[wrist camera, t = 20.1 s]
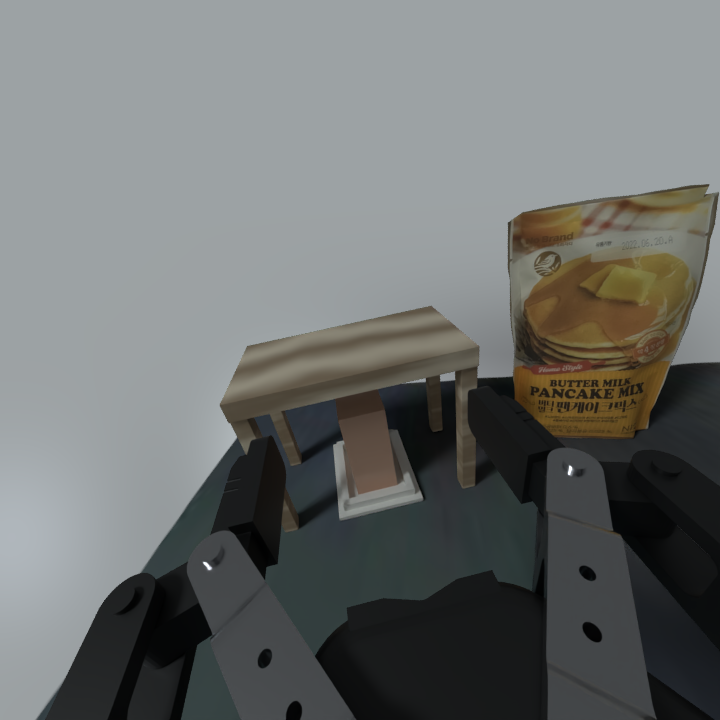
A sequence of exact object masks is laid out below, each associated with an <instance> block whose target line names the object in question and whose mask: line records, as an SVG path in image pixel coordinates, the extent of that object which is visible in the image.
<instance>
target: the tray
mask: <svg viewBox="0 0 720 720" xmlns="http://www.w3.org/2000/svg"><path fill="white" fill-rule="evenodd" d="M388 431H389V437H390V443H391V449H392V455H393V461H394V467H395V472H396V478H397V484H398V485H395V486H391V487H387V488H383V489H379V490H375V491H371V492H367V493H363V494H359V495H358V491H357V488H356V484H355V480H354V477H353V473H352V469H351V466H350V462H349V458H348V455H347V451H346V447H345V444H344V440H343V441H339V442H337V444H334V445H333V448H334V460H335V471H336V483H337V495H338V506H339V518H340V521H342V520H346V519H351V518H355V517H359V516H363V515H367V514H371V513H375V512H379V511H383V510H387V509H391V508H395V507H399V506H403V505H407V504H411V503H415V502H419V501H423V497H422V494H421V491H420V489H419V486H418V483H417V481H416V478H415V475H414V473H413V470H412V468H411V465H410V462H409V460H408V457H407V454H406V452H405V449H404V446H403V444H402V441H401V438H400V436H399V433H398V430H393V429H390V430H388Z"/></svg>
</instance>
